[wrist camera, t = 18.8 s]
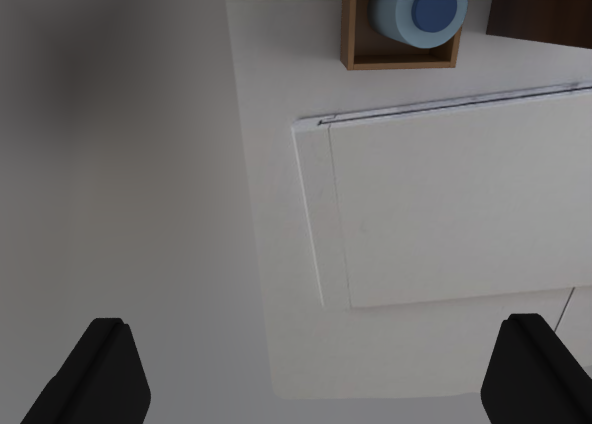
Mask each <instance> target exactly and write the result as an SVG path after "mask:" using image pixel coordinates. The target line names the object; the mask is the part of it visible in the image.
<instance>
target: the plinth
mask: <svg viewBox="0 0 592 424" xmlns="http://www.w3.org/2000/svg"><path fill="white" fill-rule="evenodd" d="M486 34H487V35H494V36H501V37H508V38H515V39H522V40H529V41H537V42H544V43H551V44H558V45H565V46H572V47H579V48H587V49H592V0H493V1H492V6H491V11H490V16H489V21H488V27H487V32H486Z"/></svg>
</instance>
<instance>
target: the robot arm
mask: <svg viewBox="0 0 592 424" xmlns="http://www.w3.org/2000/svg"><path fill="white" fill-rule="evenodd" d="M150 400H151V393H150V389H149V386H148V383H147V380H146V377H145V373H144V370H143V367H142V364H141V361H140V358H139V354H138V351H137V348H136V345H135V342H134V339H133V336H132V332H131V329H130V327H129V325H128V324H124V323H123V321H122V319H121V318H96V319H94V320H93V321H92V322H91V323H90V325H89V327H88V328H87V329H86V331H85V332H84V334H83V335H82V337H81V338H80V340H79V341H78V343H77V344H76V346H75V348H74V349H73V350H72V352H71V353H70V355H69V357H68V358H67V359H66V361H65V362H64V364H63V365H62V367H61V368H60V370H59V371H58V373H57V374H56V376H54V377H53V378H52V379H51V380H50V381H49V383H48V384H47V385H46V387H45V388H44V389H43V391H42V392H41V394H40V395H39V397H38V398H37V400H36V401H35V403H34V404H33V406H32V407H31V409H30V410H29V412H28V413H27V414H26V416H25V417H24V419H23V421H22V422H21V423H20V424H143V421H144V419H145V416H146V414H147V411H148V408H149V405H150ZM481 400H482V404H483V406H484V409H485V411H486V413H487V415H488V417H489V420H490V422H491V424H592V379H591V378H590V377H589V376H588V375H587V373H586V372H585V371H584V370H583V369H582V367H581V366H580V365H579V363H578V362H577V361H576V359H575V358H574V357H573V356H572V354H571V353H570V352H569V350H568V349H567V348H566V347H565V345H564V344H563V343H562V342H561V340H560V339H559V338H558V336H557V335H556V334H555V333H554V331H553V330H552V329H551V327H550V326H549V325H548V324H547V322H546V321H545V320H544V318H543V317H542V316H541V315H539V314H537V313H532V314H511V315H510V316H509V318H508V320H504V321H503V322H502V324H501V327H500V331H499V334H498V337H497V340H496V343H495V346H494V350H493V353H492V356H491V359H490V362H489V366H488V369H487V372H486V375H485V378H484V381H483V385H482V388H481Z"/></svg>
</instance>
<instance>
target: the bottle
mask: <svg viewBox="0 0 592 424" xmlns="http://www.w3.org/2000/svg"><path fill="white" fill-rule="evenodd" d="M467 6H468V0H369V2H368V6H367V17H368V21H369V24H370V26H371V27H372V29H373V30H374V31H375V32H376V33H378V34H380V35H382V36H385V37H388V38H391V39H394V40H397V41H400V42H403V43H406V44H409V45H412V46H415V47H418V48H433V47H436V46H439V45H441V44H443V43H445V42H446V41H448V40H449V39H450V38H451V37H452V36H453V35H454V34H455V33H456V32H457V31H458V29H459V28H460V26H461V25H462V23H463V21H464V18H465V15H466V12H467Z"/></svg>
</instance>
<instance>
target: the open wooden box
mask: <svg viewBox="0 0 592 424" xmlns="http://www.w3.org/2000/svg"><path fill="white" fill-rule="evenodd" d="M368 2H369V0H342V19H341V55H340V61H341V62H342V64H343V65H344V66H345V68H346V69H347V70H381V69H420V68H455V66H456V60H457V54H458V48H459V42H460V36H461V29H462V25H461V26H460V28H459V29H458V31H457V32H456V33H455V34H454V35H453V36H452V37H451V38H450V39H449V40H448V41H446V42H445V43H443V44H441V45H439V46H436V47H433V48H418V47H415V46H412V45H409V44H406V43H403V42H400V41H397V40H394V39H391V38H388V37H385V36H382V35H380V34H378V33H376V32H375V31H374V30H373V29H372V27H371V26H370V24H369V21H368V17H367V6H368Z"/></svg>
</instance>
